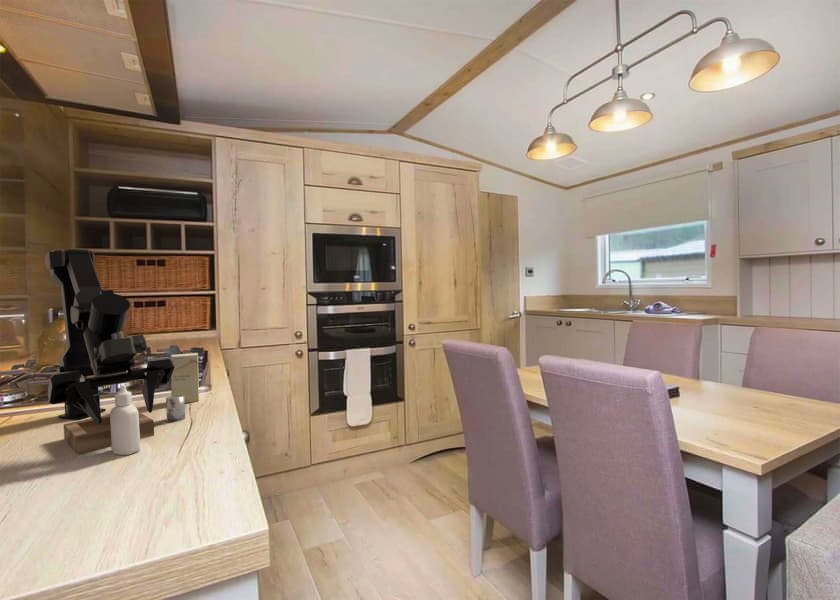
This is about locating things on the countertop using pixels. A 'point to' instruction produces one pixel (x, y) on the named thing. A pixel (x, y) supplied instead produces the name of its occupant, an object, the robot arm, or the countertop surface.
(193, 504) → the countertop surface
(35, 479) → the countertop surface
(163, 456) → the countertop surface
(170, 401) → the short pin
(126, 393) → the eye dropper bottle
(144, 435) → the socket block
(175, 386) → the skincare box
